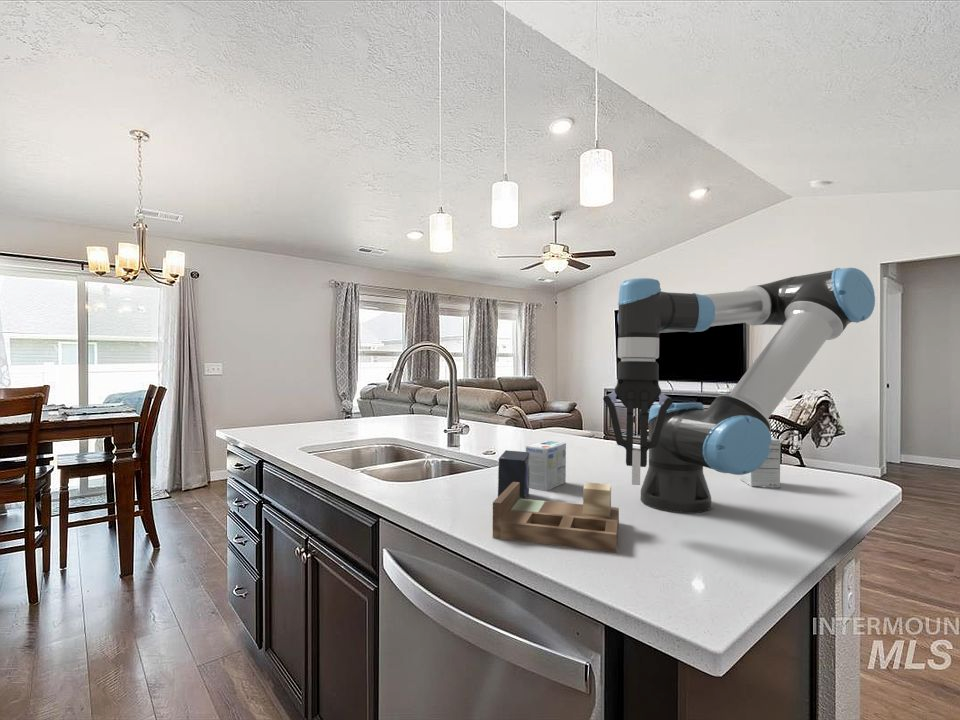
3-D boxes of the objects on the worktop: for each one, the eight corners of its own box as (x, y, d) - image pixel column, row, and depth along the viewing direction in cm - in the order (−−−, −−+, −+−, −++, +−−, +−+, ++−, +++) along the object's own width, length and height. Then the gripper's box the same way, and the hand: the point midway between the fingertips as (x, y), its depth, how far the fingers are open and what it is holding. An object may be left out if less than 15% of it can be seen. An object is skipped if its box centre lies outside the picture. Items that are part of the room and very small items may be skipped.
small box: (525, 506, 111) (525, 459, 110) (496, 504, 112) (497, 458, 112) (530, 493, 121) (530, 450, 121) (504, 492, 122) (504, 449, 122)
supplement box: (739, 480, 136) (739, 434, 136) (768, 481, 135) (768, 435, 134) (750, 487, 128) (750, 438, 128) (781, 488, 127) (781, 439, 127)
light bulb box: (544, 479, 136) (544, 439, 135) (566, 482, 132) (567, 442, 132) (524, 487, 127) (524, 445, 127) (547, 491, 123) (548, 448, 123)
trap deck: (618, 522, 100) (619, 490, 100) (616, 552, 84) (616, 514, 84) (512, 511, 106) (512, 481, 106) (492, 537, 91) (492, 502, 91)
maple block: (610, 509, 99) (611, 484, 99) (609, 516, 94) (609, 490, 94) (585, 506, 100) (585, 482, 100) (583, 514, 95) (583, 488, 95)
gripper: (672, 361, 96) (670, 481, 96) (604, 359, 100) (602, 476, 100) (676, 360, 89) (673, 491, 89) (602, 359, 93) (599, 484, 93)
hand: (635, 483), depth 95 cm, fingers closed
